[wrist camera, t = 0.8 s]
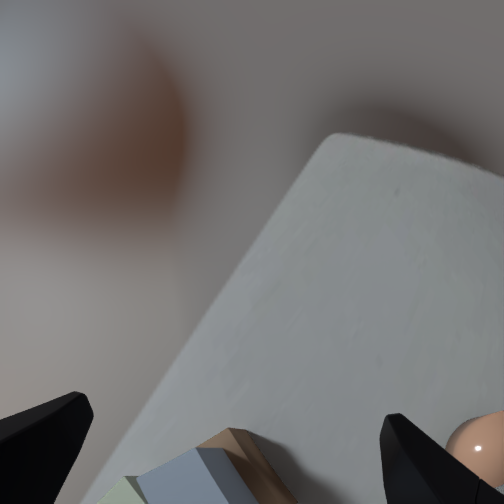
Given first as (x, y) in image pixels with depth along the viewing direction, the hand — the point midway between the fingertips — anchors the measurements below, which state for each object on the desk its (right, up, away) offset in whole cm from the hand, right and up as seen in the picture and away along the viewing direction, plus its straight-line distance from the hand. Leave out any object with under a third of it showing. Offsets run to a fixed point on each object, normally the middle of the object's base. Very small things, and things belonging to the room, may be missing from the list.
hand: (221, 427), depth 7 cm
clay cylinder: (+16, -8, +6) cm, 19 cm away
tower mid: (-2, -11, +8) cm, 13 cm away
